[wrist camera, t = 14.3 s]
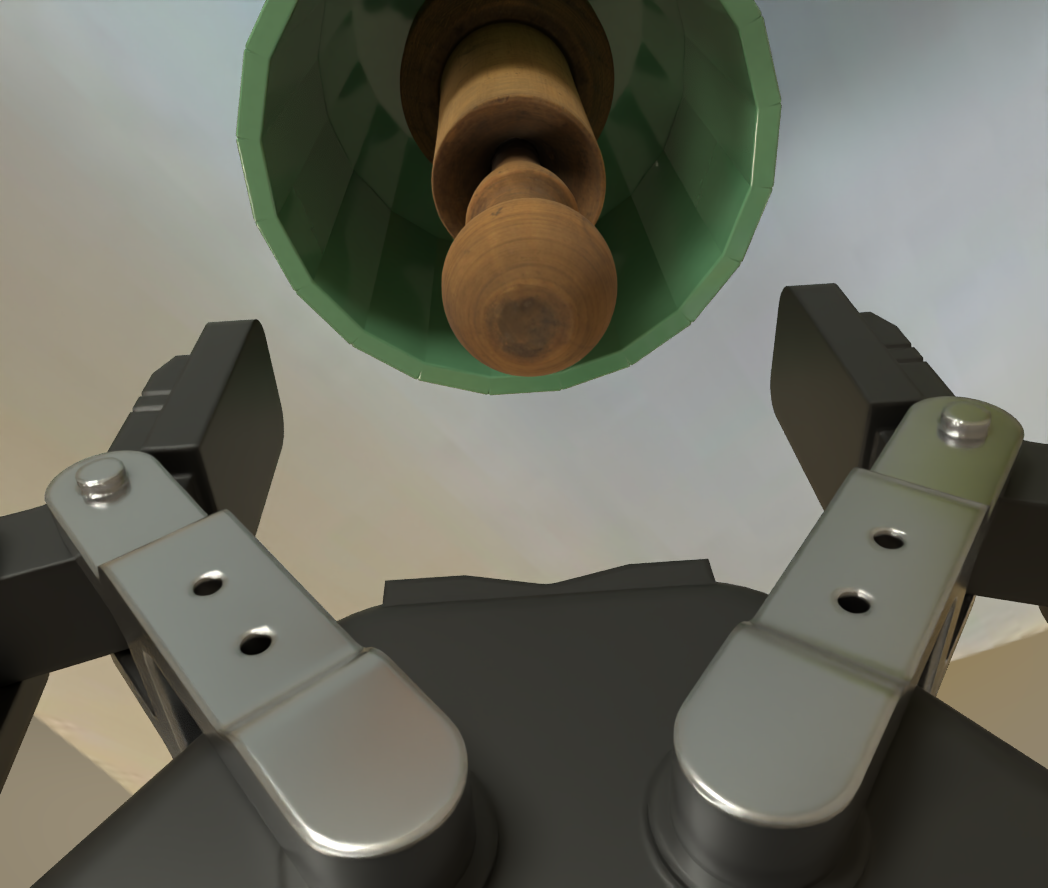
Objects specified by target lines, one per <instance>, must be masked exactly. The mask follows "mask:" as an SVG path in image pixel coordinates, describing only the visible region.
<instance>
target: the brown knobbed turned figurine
mask: <svg viewBox="0 0 1048 888" xmlns="http://www.w3.org/2000/svg"><path fill="white" fill-rule="evenodd" d="M613 93H614V63H613V57H612V52H611V48H610V45H609V42H608V38H607V36H606V33H605V31H604V28H603V26H602V24H601V22H600V20H599V19H598V17H597V15H596V13H595V11H594V9H593V8H592V6H591V4H590V3H589V1H588V0H425V2H424V3H423V4H422V6H421V7H420V9H419V11H418V12H417V14H416V16H415V18H414V20H413V22H412V25H411V27H410V30H409V33H408V36H407V39H406V43H405V47H404V52H403V57H402V62H401V69H400V96H401V103H402V108H403V112H404V116H405V119H406V122H407V125H408V128H409V130H410V132H411V134H412V136H413V138H414V140H415V142H416V144H417V145H418V147H419V148H420V150H421V151H422V153H423V154H424V155H425V157H426V158H427V159H428V160H429V161H430V162H431V163H432V164H433V167H432V178H431V182H432V193H433V199H434V203H435V207H436V210H437V213H438V215H439V217H440V219H441V221H442V223H443V225H444V226H445V228H446V229H447V231H448V232H449V233H450V235H451V236H452V237H453V238H454V241H453V243H452V244H451V246H450V248H449V251H448V253H447V256H446V259H445V262H444V266H443V271H442V299H443V306H444V310H445V314H446V317H447V320H448V322H449V325H450V327H451V329H452V331H453V333H454V334H455V336H456V337H457V339H458V341H459V342H460V343H461V345H462V346H463V347H464V348H465V349H466V350H467V351H468V352H469V353H470V354H471V355H472V356H473V357H474V358H476V359H477V360H478V361H480V362H481V363H483V364H484V365H486V366H488V367H490V368H492V369H494V370H496V371H499V372H502V373H505V374H509V375H514V376H523V377H535V376H544V375H549V374H552V373H556V372H559V371H561V370H564V369H566V368H568V367H570V366H572V365H573V364H575V363H577V362H578V361H579V360H581V359H582V358H583V357H585V356H586V355H587V354H588V353H589V352H590V351H591V350H592V349H593V348H594V347H595V346H596V345H597V343H598V342H599V341H600V339H601V338H602V336H603V335H604V333H605V331H606V330H607V328H608V326H609V323H610V321H611V318H612V315H613V312H614V308H615V304H616V298H617V274H616V268H615V264H614V260H613V257H612V254H611V251H610V249H609V247H608V245H607V243H606V241H605V240H604V238H603V236H602V235H601V234H600V232H599V231H598V230H597V228H596V227H595V224H596V222H597V220H598V218H599V216H600V213H601V210H602V207H603V203H604V198H605V191H606V174H605V167H604V162H603V158H602V154H601V151H600V149H599V146H598V143H597V140H598V138H599V136H600V134H601V132H602V130H603V128H604V126H605V124H606V121H607V118H608V115H609V112H610V109H611V105H612V100H613Z"/></svg>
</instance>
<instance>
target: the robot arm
mask: <svg viewBox="0 0 1048 888" xmlns="http://www.w3.org/2000/svg"><path fill="white" fill-rule="evenodd" d="M770 389H771V400H772V405H773V410H774V413H775V415H776V417H777V419H778V421H779V423H780V425H781V427H782V429H783V431H784V433H785V435H786V437H787V439H788V441H789V443H790V445H791V447H792V449H793V451H794V453H795V455H796V457H797V459H798V461H799V463H800V465H801V466H802V468H803V470H804V472H805V474H806V476H807V478H808V480H809V482H810V484H811V486H812V488H813V490H814V492H815V494H816V496H817V498H818V500H819V502H820V504H821V506H822V508H823V510H824V512H823V514H822V515H821V517H820V518H819V520H818V521H817V523H816V524H815V526H814V527H813V529H812V530H811V532H810V533H809V535H808V536H807V538H806V539H805V541H804V542H803V544H802V545H801V547H800V548H799V550H798V551H797V553H796V554H795V556H794V557H793V559H792V560H791V562H790V563H789V565H788V566H787V568H786V569H785V571H784V573H783V574H782V576H781V577H780V579H779V580H778V582H777V583H776V585H775V586H774V588H773V589H772V591H771V592H770V594H769V595H768V594H766V593H763V592H760V591H757V590H753V589H750V588H747V587H742V586H738V585H733V584H728V583H721V582H715V579H714V576H713V572H712V569H711V566H710V563H709V560H708V559H699V560H684V561H669V562H655V563H640V564H628V565H624V566H620V567H616V568H612V569H608V570H605V571H601V572H597V573H593V574H589V575H585V576H581V577H577V578H573V579H569V580H566V581H562V582H558V583H553V584H537V583H528V582H519V581H510V580H501V579H492V578H484V577H475V576H466V575H463V576H448V577H433V578H419V579H404V580H389V581H385V587H384V596H383V604H382V605H378V606H375V607H371V608H368V609H365V610H363V611H360V612H357V613H354V614H352V615H350V616H347V617H345V618H343V619H341V620H339V621H336V620H335V619H334V618H333V617H332V616H331V615H330V614H329V613H328V612H327V611H326V610H325V609H324V608H323V607H322V606H321V605H320V604H319V603H318V602H317V601H316V600H315V599H314V598H313V597H312V595H311V594H310V593H309V592H308V591H307V590H306V589H305V588H304V587H303V586H302V585H301V584H300V583H299V582H298V581H297V580H296V579H295V578H294V577H293V576H292V575H291V574H290V573H289V572H288V571H287V570H286V569H285V567H284V566H283V565H282V564H281V563H280V562H279V561H278V560H277V559H276V558H275V557H274V556H273V555H272V554H271V553H270V552H269V551H268V550H267V549H266V548H265V547H264V546H263V545H262V544H261V543H260V542H259V540H258V539H257V538H256V537H255V535H256V532H257V529H258V525H259V522H260V519H261V515H262V512H263V509H264V505H265V502H266V499H267V496H268V492H269V489H270V486H271V482H272V479H273V476H274V472H275V469H276V466H277V463H278V459H279V456H280V453H281V449H282V445H283V438H284V422H283V413H282V407H281V402H280V398H279V394H278V389H277V385H276V380H275V376H274V372H273V367H272V363H271V359H270V354H269V350H268V345H267V341H266V337H265V333H264V330H263V327H262V325H261V323H260V322H259V321H258V320H257V319H255V320H240V321H224V322H209V323H207V324H206V326H205V328H204V329H203V331H202V333H201V335H200V337H199V339H198V341H197V343H196V345H195V346H194V348H193V350H192V352H191V354H190V355H181V356H175V357H174V358H173V359H171V360H170V361H169V362H167V363H166V364H165V365H163V366H162V367H161V368H159V369H158V370H157V371H155V372H154V373H153V374H152V375H151V377H150V379H149V381H148V382H147V384H146V386H145V388H144V389H143V391H142V396H140V397H139V398H138V400H137V401H136V403H135V405H134V407H133V412H130V414H129V415H128V417H127V419H126V421H125V422H124V424H123V426H122V427H121V429H120V431H119V433H118V434H117V436H116V438H115V440H114V441H113V443H112V445H111V447H110V448H109V450H108V452H107V453H102V454H99V455H95V456H92V457H89V458H86V459H84V460H81V461H79V462H77V463H75V464H73V465H71V466H70V467H68V468H66V469H65V470H63V471H62V472H61V473H59V474H58V475H57V476H56V477H55V478H54V479H53V480H52V481H51V482H50V484H49V485H48V487H47V489H46V492H45V501H46V504H45V505H43V506H40V507H36V508H33V509H29V510H25V511H21V512H18V513H14V514H10V515H6V516H2V517H0V794H1V791H2V789H3V786H4V784H5V782H6V779H7V777H8V774H9V772H10V769H11V767H12V764H13V762H14V760H15V757H16V755H17V753H18V750H19V748H20V745H21V743H22V741H23V738H24V736H25V733H26V731H27V728H28V726H29V724H30V721H31V719H32V717H33V714H34V712H35V709H36V707H37V705H38V702H39V700H40V697H41V695H42V693H43V690H44V688H45V685H46V683H47V680H48V677H49V673H50V672H53V671H56V670H60V669H63V668H66V667H70V666H73V665H76V664H80V663H83V662H86V661H89V660H93V659H96V658H99V657H103V656H106V655H109V654H110V655H111V657H112V659H113V662H114V664H115V665H116V667H117V668H118V670H119V672H120V673H121V675H122V676H123V678H124V679H125V681H126V683H127V684H128V686H129V687H130V689H131V691H132V692H133V694H134V695H135V697H136V698H137V700H138V702H139V703H140V705H141V706H142V708H143V709H144V711H145V713H146V714H147V716H148V717H149V719H150V721H151V722H152V724H153V725H154V727H155V728H156V730H157V732H158V733H159V735H160V736H161V738H162V740H163V741H164V743H165V745H166V746H167V748H168V750H169V752H170V754H171V756H172V758H173V760H172V761H171V762H170V763H168V764H167V765H166V766H165V767H164V768H163V769H162V770H161V771H160V772H158V773H157V774H156V775H155V776H154V777H153V778H152V779H151V780H149V781H148V782H147V783H146V784H145V785H144V786H143V787H142V788H141V789H139V790H138V791H137V792H136V793H135V794H134V795H133V796H132V797H131V798H129V799H128V800H127V801H126V802H125V803H124V804H123V805H122V806H120V807H119V808H118V809H117V810H116V811H115V812H114V813H113V814H111V815H110V816H109V817H108V818H107V819H106V820H105V821H104V822H103V823H101V824H100V825H99V826H98V827H97V828H96V829H95V830H94V831H92V832H91V833H90V834H89V835H88V836H87V837H86V838H85V839H84V840H82V841H81V842H80V843H79V844H78V845H77V846H76V847H75V848H73V850H71V851H70V852H69V853H68V854H67V855H66V856H65V857H63V858H62V859H61V860H60V861H59V862H58V863H57V864H56V865H54V867H52V868H51V869H50V870H49V871H48V872H47V873H46V874H44V876H42V877H41V878H40V879H39V880H38V881H37V882H35V883H34V884H33V885H32V886H31V887H30V888H1048V769H1046V768H1045V767H1043V766H1042V765H1040V764H1039V763H1037V762H1035V761H1034V760H1032V759H1031V758H1029V757H1028V756H1026V755H1025V754H1023V753H1022V752H1020V751H1018V750H1017V749H1015V748H1014V747H1012V746H1011V745H1009V744H1008V743H1006V742H1004V741H1003V740H1001V739H1000V738H998V737H997V736H995V735H994V734H992V733H991V732H989V731H987V730H986V729H984V728H983V727H981V726H980V725H978V724H976V723H975V722H973V721H972V720H970V719H969V718H967V717H966V716H964V715H963V714H961V713H960V712H958V711H957V710H955V709H953V708H952V707H950V706H949V705H947V704H946V703H944V702H943V701H941V700H939V699H938V698H936V695H937V693H938V690H939V687H940V685H941V682H942V680H943V677H944V675H945V673H946V670H947V668H948V665H949V663H950V660H951V658H952V655H953V653H954V651H955V648H956V646H957V643H958V641H959V638H960V636H961V633H962V631H963V628H964V626H965V624H966V621H967V619H968V616H969V614H970V611H971V609H972V606H973V604H974V601H975V597H976V595H977V596H983V597H989V598H995V599H1002V600H1008V601H1014V602H1021V603H1027V604H1033V605H1039V609H1040V611H1041V613H1042V615H1043V616H1044V618H1045V620H1046V621H1047V623H1048V444H1042V443H1035V442H1029V441H1025V440H1023V439H1024V430H1023V428H1022V426H1021V424H1020V423H1019V422H1018V420H1017V419H1016V418H1014V417H1013V416H1012V415H1011V414H1009V413H1008V412H1006V411H1005V410H1003V409H1001V408H999V407H997V406H994V405H992V404H989V403H987V402H983V401H980V400H976V399H971V398H965V397H956V396H955V395H954V394H953V393H952V392H951V390H950V389H949V388H948V387H947V386H946V384H945V383H944V382H943V381H942V380H941V379H940V377H939V376H938V375H937V374H936V373H935V371H934V370H933V369H932V368H931V367H930V365H929V364H928V363H927V362H923V357H922V356H921V355H920V353H919V352H918V351H917V350H916V349H915V348H914V347H911V343H910V342H909V340H908V339H907V338H906V337H905V336H904V334H903V333H902V332H901V331H900V330H899V328H898V327H897V326H895V325H893V324H892V323H890V322H888V321H886V320H884V319H882V318H881V317H879V316H877V315H875V314H873V313H872V312H861V313H859V312H858V311H857V309H856V308H855V307H854V306H853V304H852V303H851V302H850V301H849V299H848V298H847V297H846V295H845V294H844V293H843V292H842V290H841V289H840V288H839V287H838V285H837V284H835V283H829V284H813V285H798V286H786V287H785V288H784V289H783V291H782V293H781V296H780V301H779V308H778V317H777V325H776V334H775V343H774V351H773V360H772V369H771V380H770Z"/></svg>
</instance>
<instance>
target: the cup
mask: <svg viewBox="0 0 1048 888" xmlns="http://www.w3.org/2000/svg"><path fill="white" fill-rule="evenodd" d="M588 1H589V3H590V4H591V6H592V8H593V9H594V11H595V13H596V15H597V17H598V19H599V20H600V22H601V24H602V26H603V28H604V31H605V33H606V36H607V38H608V42H609V45H610V48H611V52H612V57H613V63H614V93H613V100H612V105H611V109H610V112H609V115H608V118H607V121H606V124H605V126H604V128H603V130H602V132H601V134H600V136H599V138H598V140H597V143H598V146H599V149H600V151H601V154H602V158H603V162H604V167H605V174H606V191H605V198H604V203H603V207H602V210H601V213H600V216H599V218H598V220H597V222H596V224H595V227H596V228H597V230H598V231H599V232H600V234H601V235H602V236H603V238H604V240H605V241H606V243H607V245H608V247H609V249H610V251H611V254H612V257H613V260H614V264H615V268H616V274H617V298H616V304H615V308H614V312H613V315H612V318H611V321H610V323H609V326H608V328H607V330H606V331H605V333H604V335H603V336H602V338H601V339H600V341H599V342H598V343H597V345H596V346H595V347H594V348H593V349H592V350H591V351H590V352H589V353H588V354H587V355H586V356H585V357H583V358H582V359H581V360H579V361H578V362H577V363H575V364H573V365H572V366H570V367H568V368H566V369H564V370H561V371H559V372H556V373H552V374H549V375H544V376H535V377H523V376H514V375H509V374H505V373H502V372H499V371H496V370H494V369H492V368H490V367H488V366H486V365H484V364H483V363H481V362H480V361H478V360H477V359H476V358H474V357H473V356H472V355H471V354H470V353H469V352H468V351H467V350H466V349H465V348H464V347H463V346H462V345H461V343H460V342H459V341H458V339H457V337H456V336H455V334H454V333H453V331H452V329H451V327H450V325H449V322H448V320H447V317H446V314H445V310H444V306H443V299H442V271H443V266H444V262H445V259H446V256H447V253H448V251H449V248H450V246H451V244H452V243H453V241H454V238H453V237H452V236H451V235H450V233H449V232H448V231H447V229H446V228H445V226H444V225H443V223H442V221H441V219H440V217H439V215H438V213H437V210H436V207H435V203H434V199H433V193H432V182H431V178H432V167H433V164H432V163H431V162H430V161H429V160H428V159H427V158H426V157H425V155H424V154H423V153H422V151H421V150H420V148H419V147H418V145H417V144H416V142H415V140H414V138H413V136H412V134H411V132H410V130H409V128H408V125H407V122H406V119H405V116H404V112H403V108H402V103H401V96H400V69H401V62H402V57H403V52H404V47H405V43H406V39H407V36H408V33H409V30H410V27H411V25H412V22H413V20H414V18H415V16H416V14H417V12H418V11H419V9H420V7H421V6H422V4H423V3H424V2H425V0H266V1H265V3H264V5H263V7H262V10H261V12H260V14H259V16H258V18H257V21H256V23H255V25H254V27H253V29H252V32H251V34H250V36H249V38H248V40H247V43H246V49H245V50H244V55H243V65H242V76H241V86H240V97H239V107H238V117H237V128H236V136H237V139H236V142H237V146H238V151H239V155H240V160H241V164H242V169H243V173H244V178H245V182H246V187H247V191H248V196H249V200H250V205H251V209H252V214H253V218H254V220H256V221H255V222H256V225H257V227H258V229H259V230H260V232H261V234H262V236H263V237H264V239H265V241H266V243H267V244H268V246H269V248H270V250H271V251H272V253H273V255H274V257H275V258H276V260H277V262H278V264H279V265H280V267H281V269H282V271H283V272H284V274H285V276H286V277H287V279H288V281H289V283H290V284H291V286H292V288H293V290H294V291H296V293H297V294H298V295H299V296H300V297H301V298H302V299H303V300H304V301H305V302H306V303H307V304H308V305H309V306H310V307H311V308H312V309H313V310H314V311H315V312H316V313H317V314H319V315H320V316H321V317H322V318H323V319H324V320H325V321H326V322H327V323H328V324H329V325H330V326H331V327H332V328H333V329H334V330H335V331H336V332H337V333H338V334H339V335H341V336H342V337H343V338H344V339H345V340H346V341H347V342H348V343H349V344H352V346H353V347H355V348H357V349H359V350H361V351H363V352H365V353H366V354H368V355H370V356H372V357H374V358H376V359H378V360H380V361H382V362H384V363H386V364H388V365H389V366H391V367H393V368H395V369H397V370H399V371H401V372H403V373H405V374H407V375H409V376H411V377H412V378H414V379H418V380H420V381H424V382H429V383H434V384H438V385H443V386H448V387H453V388H458V389H462V390H467V391H472V392H477V393H482V394H486V395H487V394H490V395H501V394H516V393H532V392H547V391H560V390H561V389H567V388H570V387H572V386H575V385H578V384H581V383H584V382H587V381H590V380H593V379H595V378H598V377H601V376H604V375H607V374H610V373H613V372H615V371H618V370H621V369H624V368H627V367H629V366H630V365H633V364H635V363H636V362H638V361H639V360H640V359H642V358H643V357H645V356H646V355H648V354H649V353H650V352H652V351H653V350H655V349H656V348H658V347H659V346H661V345H662V344H663V343H665V342H666V341H668V340H669V339H671V338H672V337H673V336H675V335H676V334H678V333H679V332H681V331H682V330H683V329H685V328H686V327H688V326H689V325H690V324H691V323H692V322H694V321H695V320H696V318H697V317H698V316H699V315H700V313H701V312H702V311H703V310H704V309H705V307H706V306H707V305H708V304H709V302H710V301H711V300H712V299H713V297H714V296H715V295H716V294H717V293H718V291H719V290H720V289H721V288H722V286H723V285H724V284H725V283H726V282H727V280H728V279H729V278H730V277H731V275H732V274H733V273H734V272H735V271H736V269H737V268H738V267H739V266H740V264H741V262H742V261H743V259H744V256H745V254H746V252H747V249H748V247H749V244H750V242H751V240H752V237H753V235H754V233H755V230H756V228H757V225H758V223H759V221H760V218H761V216H762V214H763V211H764V209H765V206H766V204H767V202H768V199H769V197H770V194H771V192H772V187H773V185H774V177H775V167H776V157H777V147H778V137H779V127H780V117H781V107H782V105H781V103H780V102H781V96H780V91H779V87H778V82H777V77H776V73H775V68H774V64H773V59H772V54H771V50H770V45H769V41H768V36H767V32H766V27H765V22H764V18H763V16H761V11H760V9H759V8H758V6H757V4H756V3H755V1H754V0H588Z"/></svg>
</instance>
